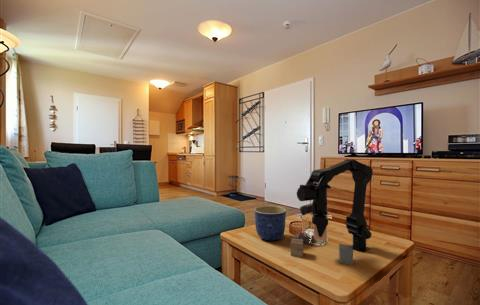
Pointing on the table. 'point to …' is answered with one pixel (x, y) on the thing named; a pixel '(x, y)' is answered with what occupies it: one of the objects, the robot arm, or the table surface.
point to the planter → (270, 222)
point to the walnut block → (297, 247)
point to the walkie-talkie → (302, 237)
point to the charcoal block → (346, 254)
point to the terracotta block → (318, 235)
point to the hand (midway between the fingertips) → (320, 234)
